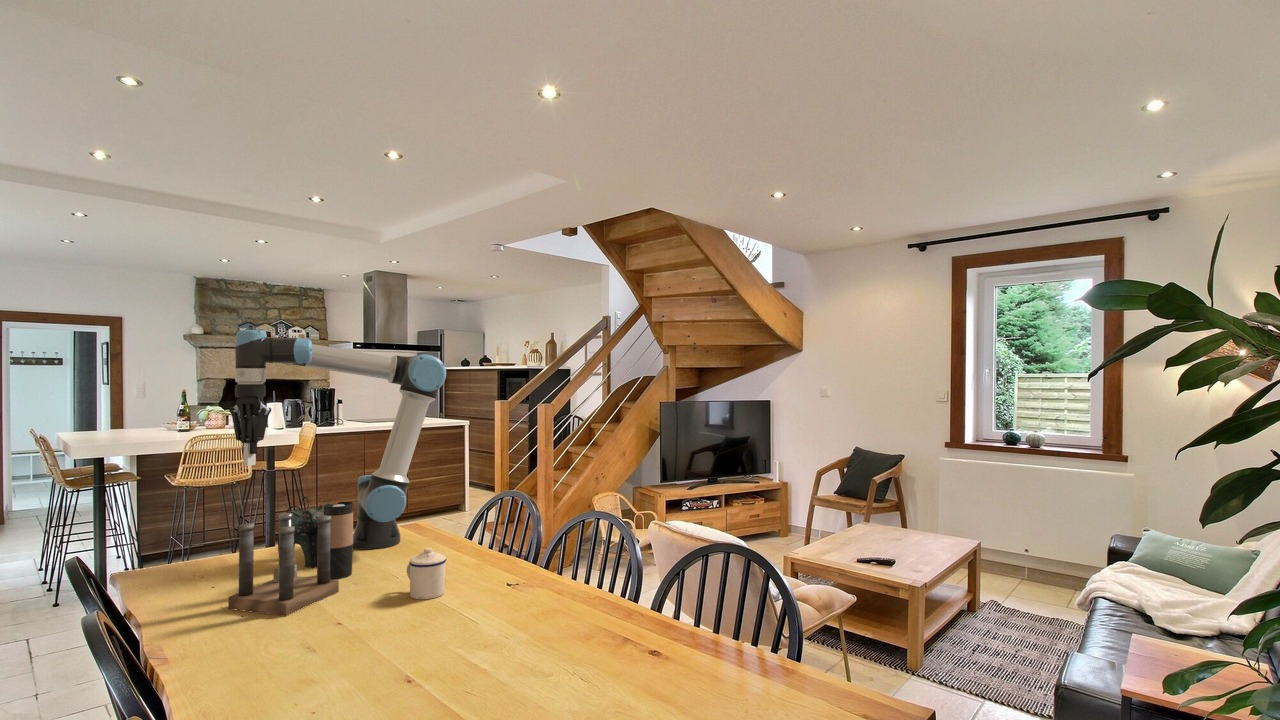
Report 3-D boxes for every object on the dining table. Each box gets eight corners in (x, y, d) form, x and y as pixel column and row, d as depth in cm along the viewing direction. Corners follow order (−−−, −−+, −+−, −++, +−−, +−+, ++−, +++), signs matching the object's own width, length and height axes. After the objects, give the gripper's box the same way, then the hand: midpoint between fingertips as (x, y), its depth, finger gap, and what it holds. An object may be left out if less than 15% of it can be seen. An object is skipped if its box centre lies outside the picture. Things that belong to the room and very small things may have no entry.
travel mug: (344, 580, 174) (345, 506, 174) (317, 579, 174) (317, 506, 174) (357, 571, 181) (358, 501, 182) (331, 571, 181) (332, 501, 182)
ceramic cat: (329, 565, 187) (329, 497, 187) (307, 571, 182) (308, 501, 182) (291, 555, 198) (292, 491, 198) (270, 560, 192) (271, 494, 193)
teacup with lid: (453, 591, 164) (454, 546, 164) (426, 602, 156) (426, 555, 156) (421, 584, 170) (421, 540, 170) (393, 594, 162) (393, 548, 162)
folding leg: (295, 570, 167) (295, 513, 167) (285, 574, 164) (286, 515, 164) (285, 569, 168) (285, 512, 168) (275, 573, 164) (276, 515, 165)
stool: (338, 591, 164) (339, 515, 165) (286, 616, 148) (287, 530, 148) (285, 586, 169) (286, 511, 169) (228, 609, 152) (229, 526, 153)
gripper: (220, 383, 181) (219, 466, 180) (257, 383, 177) (256, 468, 177) (243, 383, 188) (242, 462, 187) (279, 383, 184) (278, 464, 184)
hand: (249, 465), depth 182 cm, fingers closed
